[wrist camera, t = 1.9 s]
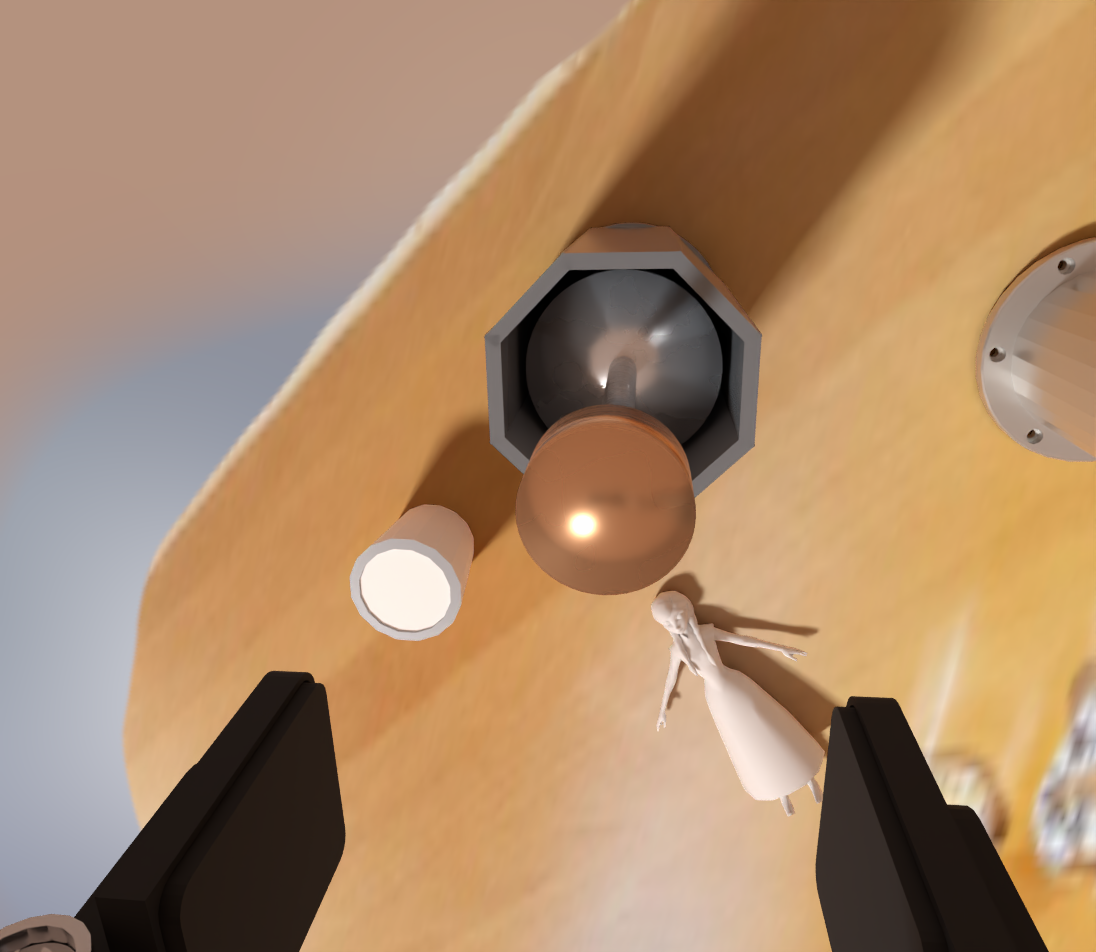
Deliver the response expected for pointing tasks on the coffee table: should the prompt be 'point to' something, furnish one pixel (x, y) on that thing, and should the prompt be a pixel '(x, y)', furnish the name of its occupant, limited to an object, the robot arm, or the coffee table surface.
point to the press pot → (650, 251)
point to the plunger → (616, 429)
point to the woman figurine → (741, 707)
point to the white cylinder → (414, 574)
